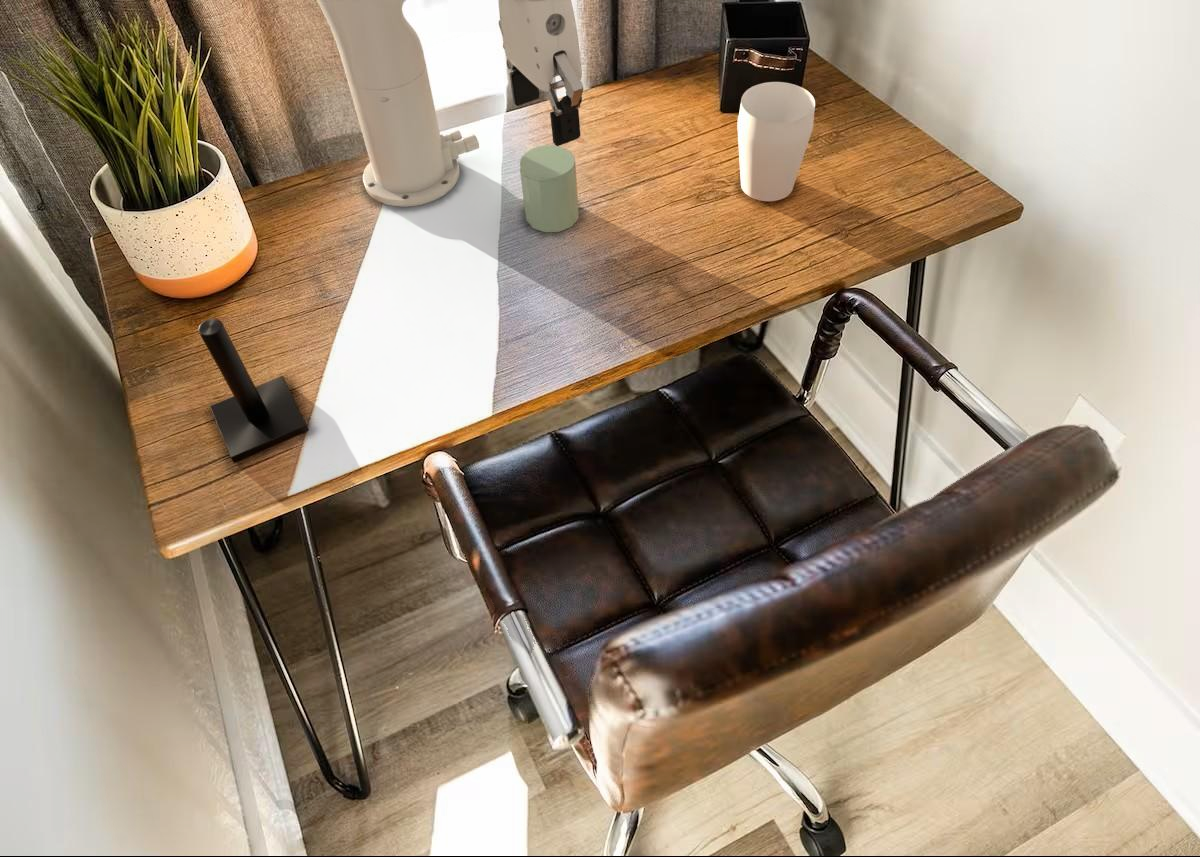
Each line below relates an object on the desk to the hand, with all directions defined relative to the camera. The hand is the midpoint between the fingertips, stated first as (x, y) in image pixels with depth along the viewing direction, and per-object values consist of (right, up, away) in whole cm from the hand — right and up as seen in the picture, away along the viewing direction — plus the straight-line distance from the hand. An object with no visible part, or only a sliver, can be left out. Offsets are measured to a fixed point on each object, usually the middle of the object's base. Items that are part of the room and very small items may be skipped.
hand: (546, 120), depth 102 cm
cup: (+28, -4, +13) cm, 31 cm away
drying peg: (-29, -34, -8) cm, 46 cm away
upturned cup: (0, -8, +11) cm, 14 cm away
